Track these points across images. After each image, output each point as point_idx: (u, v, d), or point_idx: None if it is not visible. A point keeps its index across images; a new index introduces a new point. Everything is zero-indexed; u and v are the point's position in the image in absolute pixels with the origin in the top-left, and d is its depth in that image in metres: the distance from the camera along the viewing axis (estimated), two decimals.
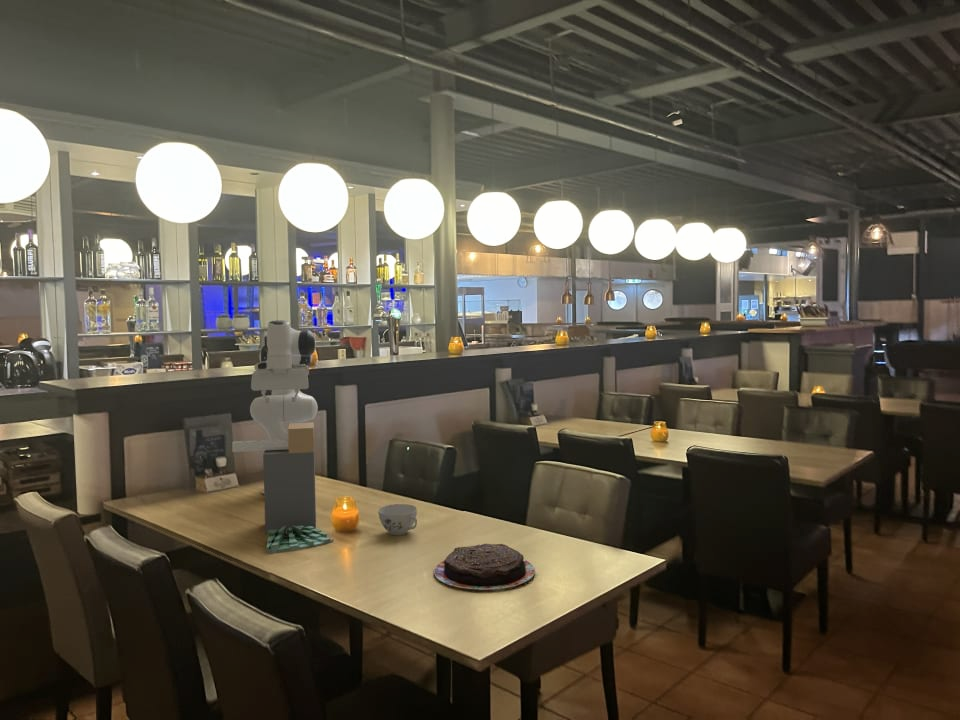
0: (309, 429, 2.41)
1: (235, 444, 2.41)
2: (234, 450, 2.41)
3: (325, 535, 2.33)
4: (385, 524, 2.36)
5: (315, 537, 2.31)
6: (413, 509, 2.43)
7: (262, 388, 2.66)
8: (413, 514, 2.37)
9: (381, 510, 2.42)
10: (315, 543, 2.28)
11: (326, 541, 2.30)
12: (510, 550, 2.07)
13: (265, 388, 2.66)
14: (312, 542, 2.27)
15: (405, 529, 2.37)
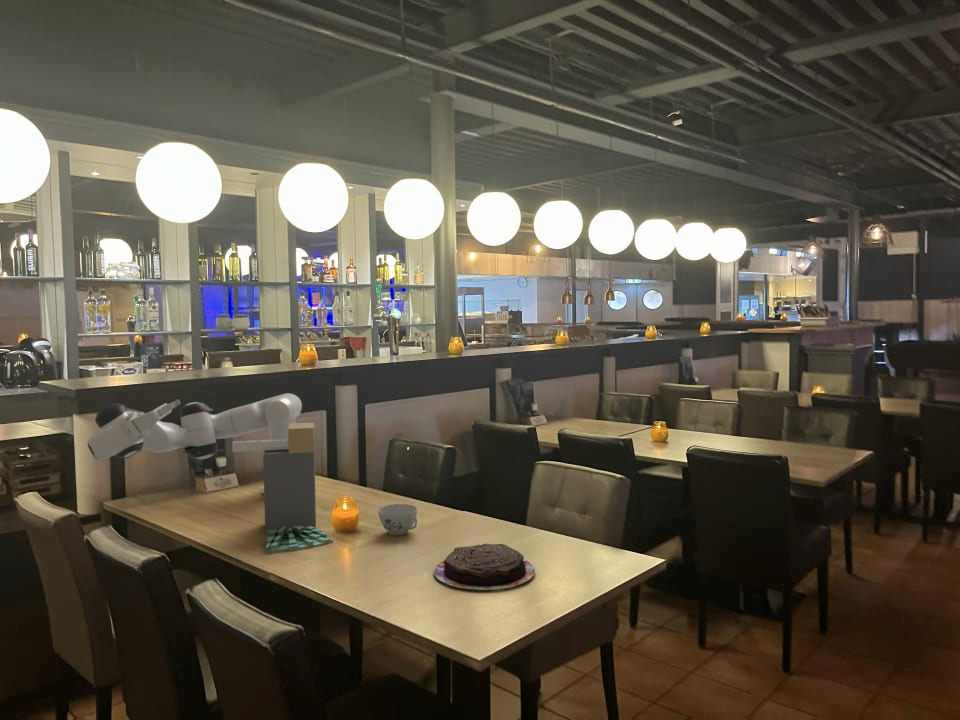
0: (309, 429, 2.41)
1: (235, 444, 2.41)
2: (234, 450, 2.41)
3: (325, 535, 2.33)
4: (385, 524, 2.36)
5: (315, 537, 2.31)
6: (413, 509, 2.43)
7: (154, 409, 2.33)
8: (413, 514, 2.37)
9: (381, 510, 2.42)
10: (315, 543, 2.28)
11: (326, 541, 2.29)
12: (510, 550, 2.07)
13: (154, 409, 2.34)
14: (312, 542, 2.26)
15: (405, 529, 2.37)
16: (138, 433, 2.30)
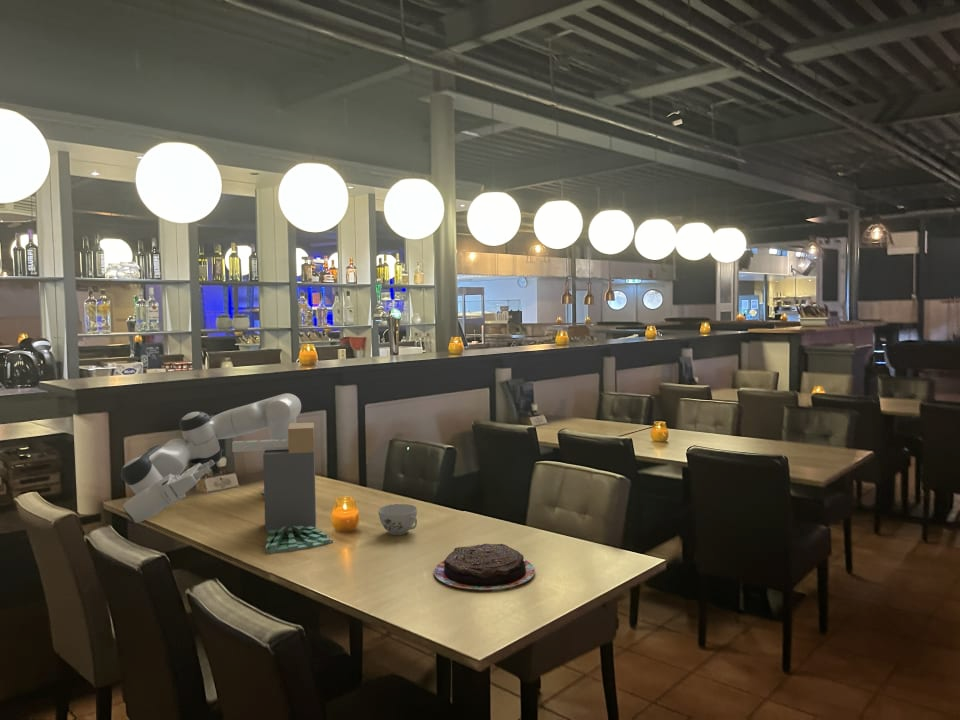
0: (309, 429, 2.41)
1: (235, 444, 2.41)
2: (234, 450, 2.41)
3: (325, 536, 2.33)
4: (385, 524, 2.36)
5: (315, 538, 2.31)
6: (413, 509, 2.43)
7: (190, 473, 2.34)
8: (413, 514, 2.37)
9: (381, 510, 2.42)
10: (314, 544, 2.27)
11: (325, 542, 2.29)
12: (510, 550, 2.07)
13: (191, 472, 2.35)
14: (311, 543, 2.26)
15: (405, 529, 2.37)
16: (175, 497, 2.31)
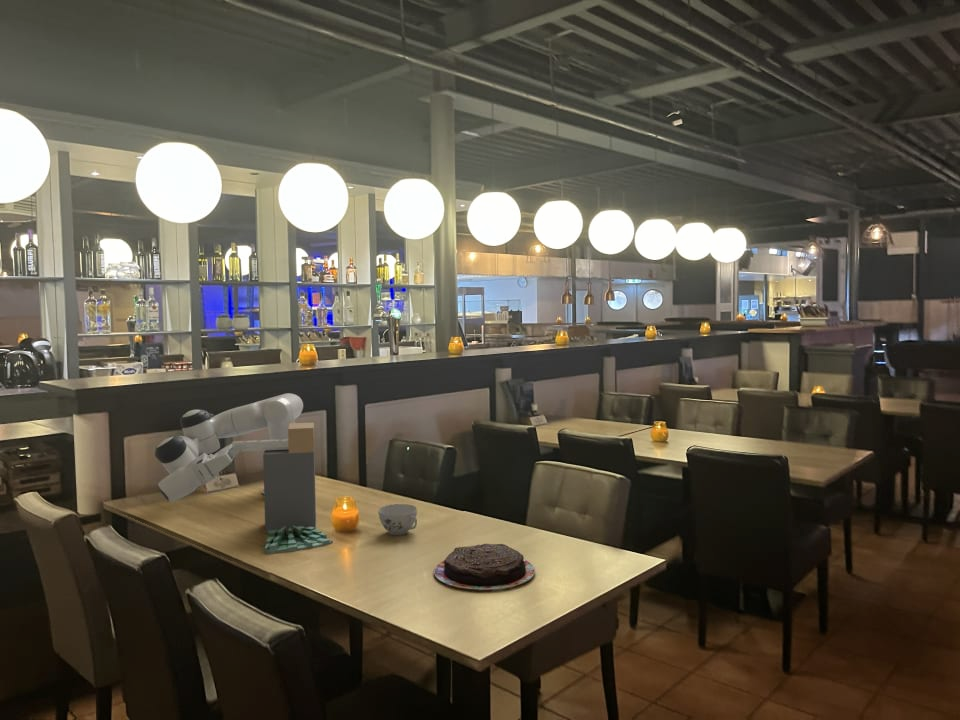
0: (309, 429, 2.41)
1: (235, 444, 2.41)
2: None
3: (325, 536, 2.32)
4: (385, 524, 2.36)
5: (314, 538, 2.30)
6: (413, 509, 2.43)
7: (225, 452, 2.36)
8: (413, 514, 2.37)
9: (381, 510, 2.42)
10: (314, 544, 2.27)
11: (325, 542, 2.29)
12: (510, 550, 2.07)
13: (225, 451, 2.37)
14: (311, 543, 2.26)
15: (405, 529, 2.37)
16: (210, 476, 2.33)
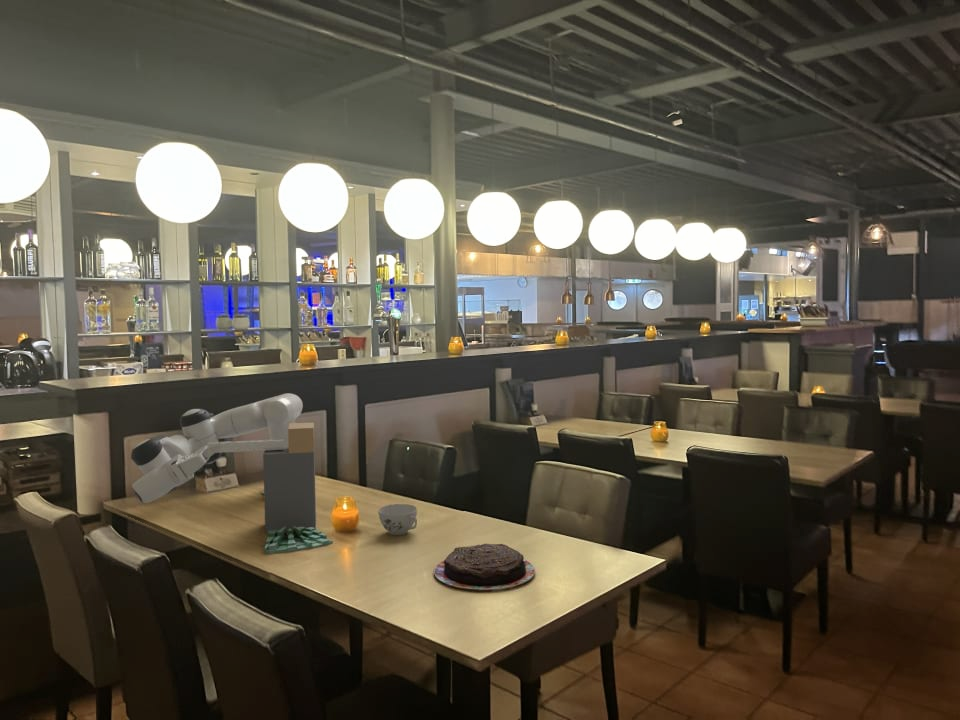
0: (309, 429, 2.41)
1: (210, 445, 2.39)
2: None
3: (325, 536, 2.32)
4: (385, 524, 2.36)
5: (314, 538, 2.30)
6: (413, 509, 2.43)
7: (199, 453, 2.35)
8: (413, 514, 2.37)
9: (381, 510, 2.42)
10: (314, 544, 2.27)
11: (325, 543, 2.28)
12: (510, 550, 2.07)
13: (200, 452, 2.36)
14: (310, 543, 2.25)
15: (405, 529, 2.37)
16: (184, 477, 2.32)
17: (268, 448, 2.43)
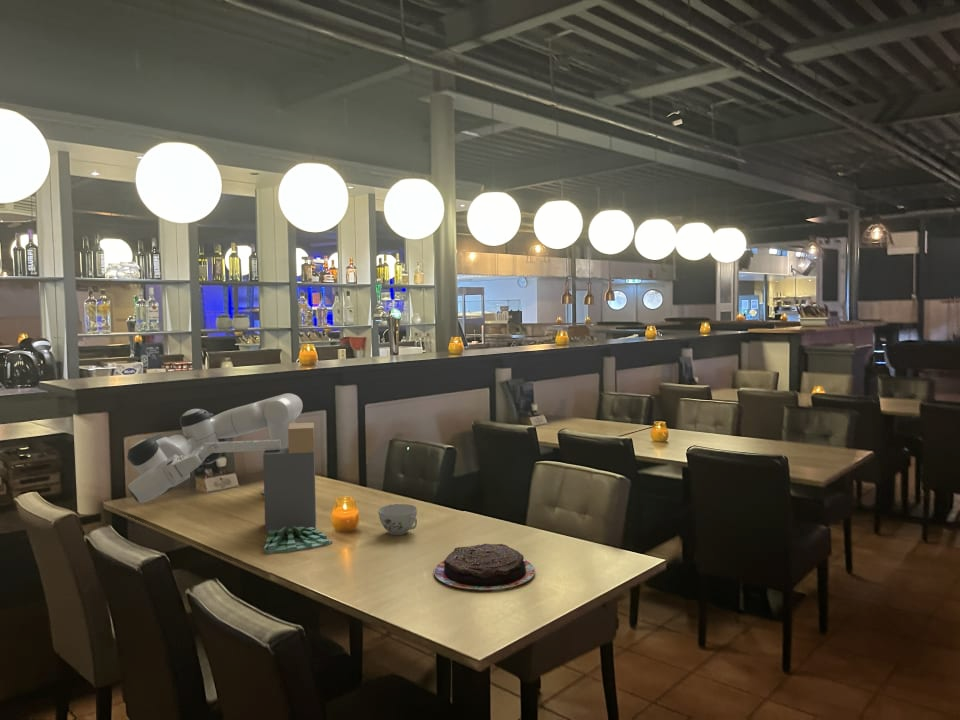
0: (309, 429, 2.41)
1: (206, 445, 2.39)
2: None
3: (325, 537, 2.32)
4: (385, 524, 2.36)
5: (314, 539, 2.30)
6: (413, 509, 2.43)
7: (195, 453, 2.34)
8: (413, 514, 2.37)
9: (381, 510, 2.42)
10: (313, 545, 2.26)
11: (325, 543, 2.28)
12: (510, 550, 2.07)
13: (195, 452, 2.35)
14: (310, 544, 2.25)
15: (405, 529, 2.37)
16: (180, 477, 2.32)
17: (264, 448, 2.43)
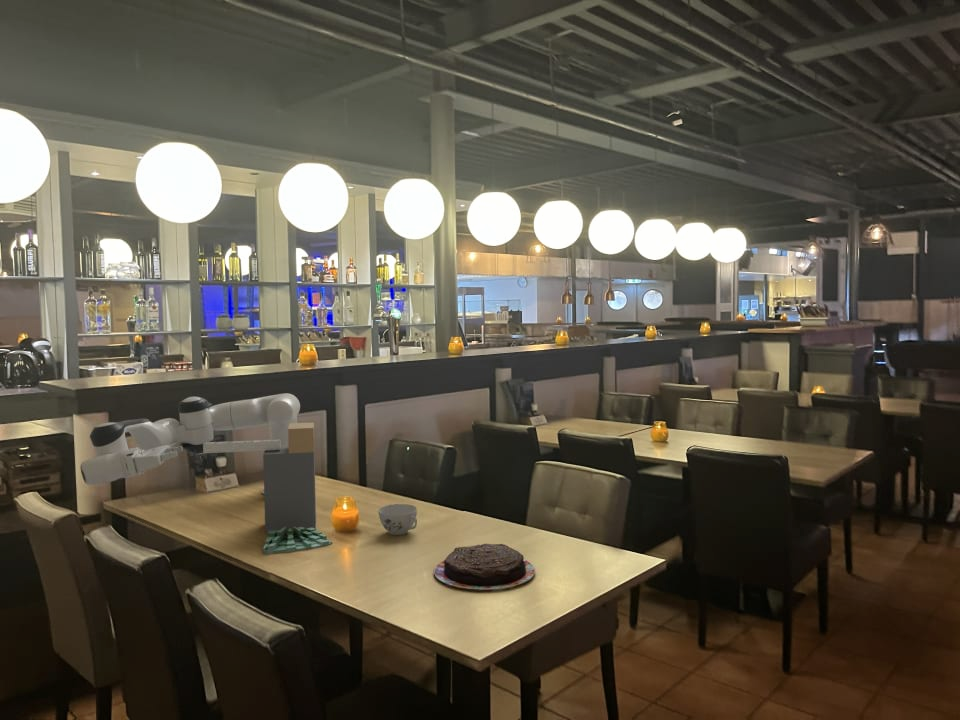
0: (309, 429, 2.41)
1: (206, 445, 2.39)
2: (205, 451, 2.39)
3: (324, 537, 2.31)
4: (385, 524, 2.36)
5: (314, 539, 2.29)
6: (413, 509, 2.43)
7: (157, 453, 2.33)
8: (413, 514, 2.37)
9: (381, 510, 2.42)
10: (313, 545, 2.26)
11: (324, 543, 2.28)
12: (510, 550, 2.07)
13: (158, 452, 2.34)
14: (309, 544, 2.25)
15: (405, 529, 2.37)
16: (135, 472, 2.29)
17: (264, 448, 2.43)
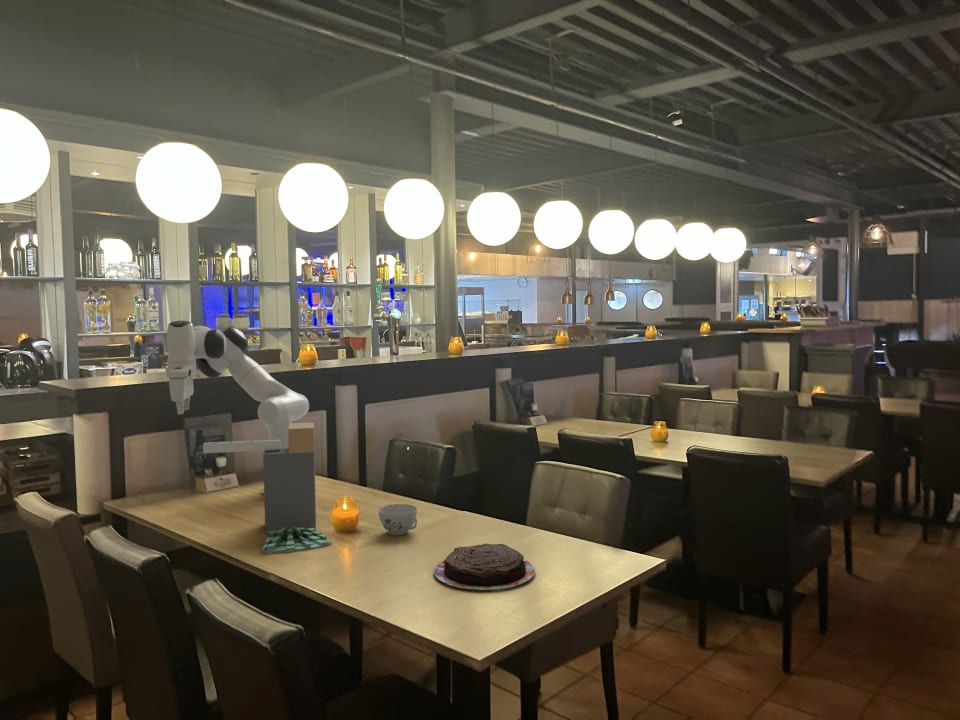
0: (309, 429, 2.41)
1: (206, 445, 2.39)
2: (205, 451, 2.39)
3: (324, 538, 2.31)
4: (385, 524, 2.36)
5: (314, 539, 2.29)
6: (413, 509, 2.43)
7: (185, 398, 2.38)
8: (413, 514, 2.37)
9: (381, 510, 2.42)
10: (312, 546, 2.26)
11: (324, 544, 2.27)
12: (510, 550, 2.07)
13: (185, 397, 2.39)
14: (309, 545, 2.24)
15: (405, 529, 2.37)
16: (169, 376, 2.35)
17: (264, 448, 2.43)
